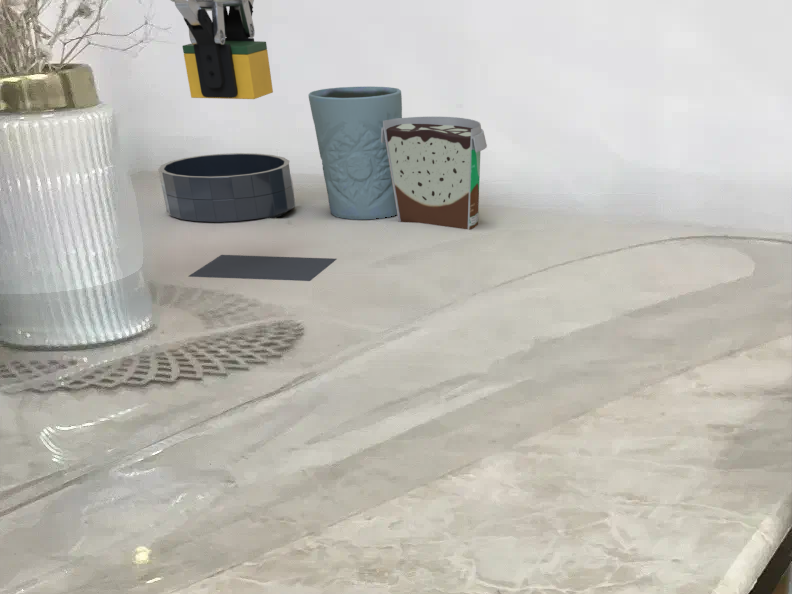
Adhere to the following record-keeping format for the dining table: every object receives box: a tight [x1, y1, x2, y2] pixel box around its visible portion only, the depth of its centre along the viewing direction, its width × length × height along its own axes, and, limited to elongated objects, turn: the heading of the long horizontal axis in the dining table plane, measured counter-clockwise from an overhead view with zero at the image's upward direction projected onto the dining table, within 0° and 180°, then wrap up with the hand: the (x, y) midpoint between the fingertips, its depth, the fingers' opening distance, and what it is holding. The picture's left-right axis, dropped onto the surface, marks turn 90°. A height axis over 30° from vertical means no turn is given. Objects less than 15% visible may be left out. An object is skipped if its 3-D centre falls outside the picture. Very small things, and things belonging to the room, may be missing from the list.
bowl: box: [158, 152, 296, 223], centre depth 128 cm, size 14×14×5 cm
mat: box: [187, 254, 338, 282], centre depth 109 cm, size 12×8×1 cm, turn 81°
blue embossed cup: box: [308, 86, 403, 220], centre depth 127 cm, size 10×10×12 cm
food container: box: [381, 116, 488, 231], centre depth 122 cm, size 12×6×10 cm, turn 59°
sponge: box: [182, 40, 274, 100], centre depth 102 cm, size 6×4×4 cm
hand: (231, 90), depth 103 cm, fingers closed on sponge, 4 cm apart
